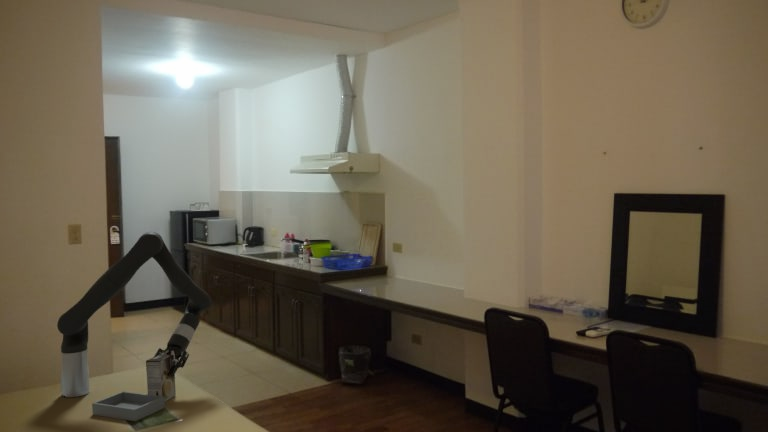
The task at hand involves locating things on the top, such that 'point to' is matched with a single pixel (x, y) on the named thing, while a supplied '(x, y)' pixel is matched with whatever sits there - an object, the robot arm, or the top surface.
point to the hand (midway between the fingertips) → (161, 375)
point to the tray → (128, 405)
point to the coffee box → (160, 376)
